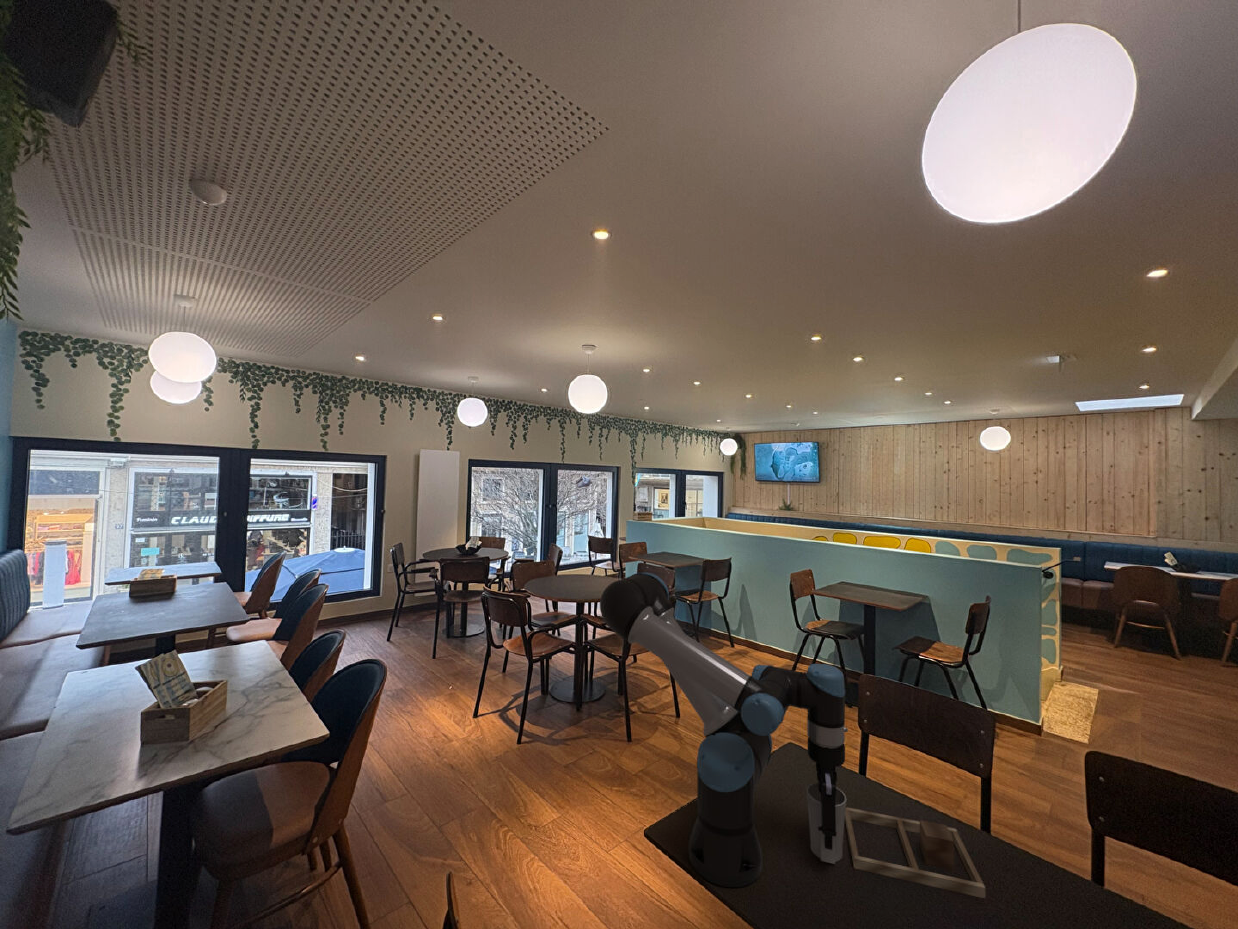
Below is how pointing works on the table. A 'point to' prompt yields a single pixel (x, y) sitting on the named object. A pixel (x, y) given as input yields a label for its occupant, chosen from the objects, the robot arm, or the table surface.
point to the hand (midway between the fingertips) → (826, 847)
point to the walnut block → (936, 845)
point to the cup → (816, 819)
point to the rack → (912, 856)
